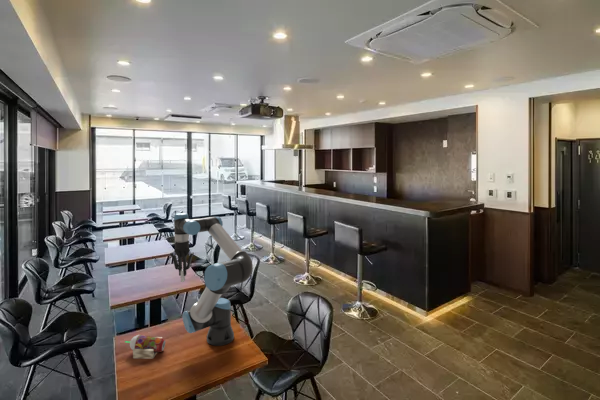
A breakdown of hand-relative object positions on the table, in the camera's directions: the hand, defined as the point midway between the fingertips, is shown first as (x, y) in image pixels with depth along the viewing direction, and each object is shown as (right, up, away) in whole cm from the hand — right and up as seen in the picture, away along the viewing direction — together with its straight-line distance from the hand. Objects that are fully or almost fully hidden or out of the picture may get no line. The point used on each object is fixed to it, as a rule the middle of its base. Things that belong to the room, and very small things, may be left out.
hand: (182, 280), depth 191 cm
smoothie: (-5, -31, -13) cm, 34 cm away
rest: (-14, -34, -13) cm, 39 cm away
